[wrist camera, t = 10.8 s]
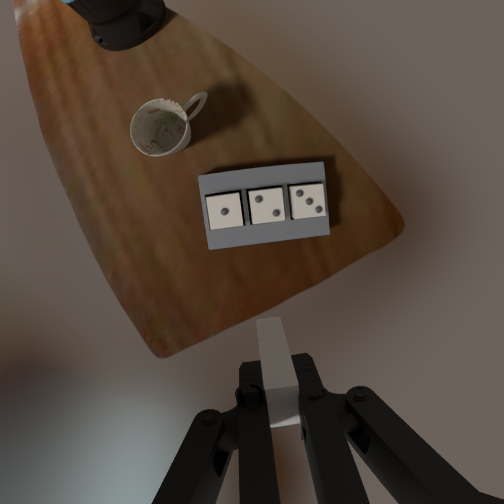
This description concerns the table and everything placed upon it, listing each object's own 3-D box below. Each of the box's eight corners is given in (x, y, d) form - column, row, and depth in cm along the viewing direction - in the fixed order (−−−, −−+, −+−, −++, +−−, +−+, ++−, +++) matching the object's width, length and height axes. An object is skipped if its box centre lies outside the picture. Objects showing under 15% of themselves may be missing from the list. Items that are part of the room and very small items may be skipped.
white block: (208, 196, 46) (205, 197, 42) (238, 191, 46) (238, 193, 42) (212, 225, 47) (210, 230, 44) (242, 221, 47) (243, 225, 44)
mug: (141, 139, 44) (119, 132, 34) (191, 85, 42) (180, 65, 32) (174, 169, 46) (158, 168, 36) (226, 115, 44) (222, 99, 34)
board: (200, 175, 46) (198, 175, 43) (318, 162, 46) (323, 161, 43) (210, 245, 49) (208, 249, 46) (324, 230, 49) (329, 234, 47)
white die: (248, 190, 46) (248, 191, 42) (278, 187, 46) (282, 188, 42) (251, 220, 47) (252, 224, 44) (281, 216, 48) (285, 220, 44)
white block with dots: (287, 186, 46) (291, 186, 42) (316, 183, 46) (323, 184, 42) (290, 215, 48) (295, 219, 44) (319, 212, 48) (326, 215, 44)
